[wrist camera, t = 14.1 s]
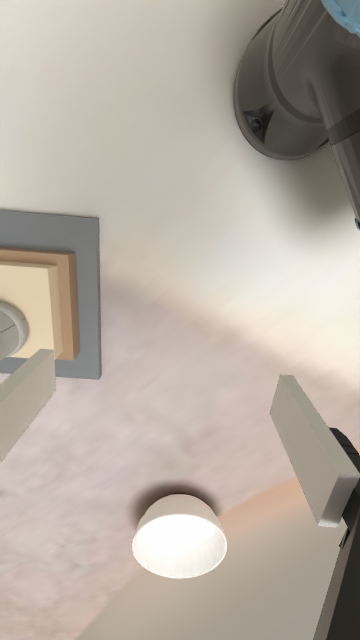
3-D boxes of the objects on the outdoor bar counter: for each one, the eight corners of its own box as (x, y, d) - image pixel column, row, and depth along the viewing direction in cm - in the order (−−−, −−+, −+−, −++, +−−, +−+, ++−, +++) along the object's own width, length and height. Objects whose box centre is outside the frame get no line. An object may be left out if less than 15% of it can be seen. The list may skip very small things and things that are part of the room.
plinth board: (-56, 205, 40) (-107, 201, 32) (98, 218, 40) (81, 217, 33) (-26, 366, 48) (-61, 391, 41) (101, 375, 49) (88, 400, 42)
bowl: (234, 524, 61) (242, 561, 54) (162, 549, 64) (160, 588, 57) (199, 467, 56) (201, 501, 49) (121, 498, 59) (113, 534, 52)
